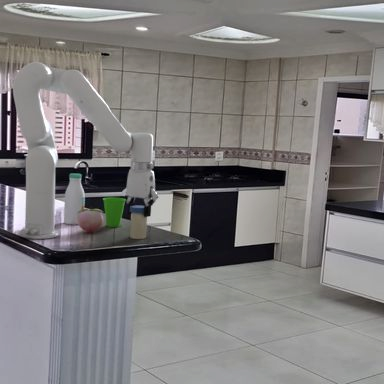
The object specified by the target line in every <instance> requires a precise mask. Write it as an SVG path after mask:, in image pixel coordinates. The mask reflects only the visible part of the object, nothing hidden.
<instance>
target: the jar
mask: <svg viewBox="0 0 384 384" xmlns="http://www.w3.org/2000/svg"><path fill="white" fill-rule="evenodd" d="M147 225H148V217H144V213H131V214H130V230H129V238H130V239H133V240H144V239H147Z"/></svg>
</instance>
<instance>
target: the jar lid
mask: <svg viewBox="0 0 384 384" xmlns="http://www.w3.org/2000/svg"><path fill="white" fill-rule="evenodd" d="M144 206H145V205H136V204H135V205H134V206H130V212H132V213H144Z"/></svg>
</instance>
